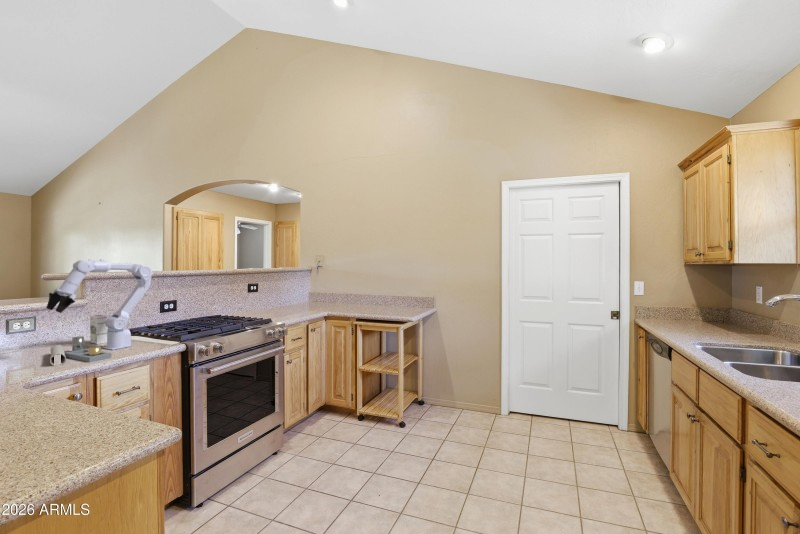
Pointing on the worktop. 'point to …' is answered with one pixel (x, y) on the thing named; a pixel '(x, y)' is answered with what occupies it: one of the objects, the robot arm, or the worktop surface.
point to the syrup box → (98, 329)
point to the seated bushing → (94, 351)
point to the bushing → (77, 343)
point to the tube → (57, 353)
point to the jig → (84, 355)
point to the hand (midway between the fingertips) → (53, 310)
